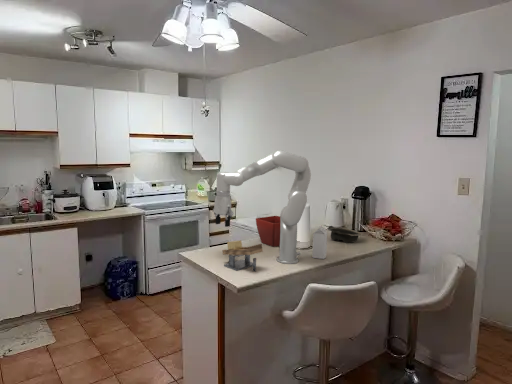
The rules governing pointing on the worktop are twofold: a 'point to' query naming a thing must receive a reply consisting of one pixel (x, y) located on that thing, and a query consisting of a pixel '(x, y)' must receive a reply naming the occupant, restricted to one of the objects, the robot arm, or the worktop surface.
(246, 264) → the pivot stand
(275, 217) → the plant pot
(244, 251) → the board
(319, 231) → the milk carton
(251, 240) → the worktop surface
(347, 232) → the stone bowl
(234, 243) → the block
